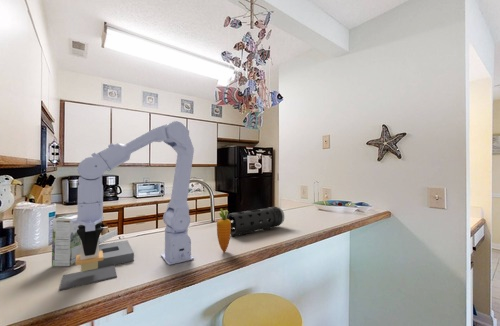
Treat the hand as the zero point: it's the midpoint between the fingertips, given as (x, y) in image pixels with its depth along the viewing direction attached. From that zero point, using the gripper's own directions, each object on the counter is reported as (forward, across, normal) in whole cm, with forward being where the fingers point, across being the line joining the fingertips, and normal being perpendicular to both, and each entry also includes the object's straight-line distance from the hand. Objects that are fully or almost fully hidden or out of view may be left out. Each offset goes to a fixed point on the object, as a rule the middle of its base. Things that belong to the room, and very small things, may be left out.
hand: (90, 252), depth 63 cm
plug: (+4, 0, 0) cm, 4 cm away
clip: (+4, -22, +4) cm, 23 cm away
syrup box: (+7, -16, -6) cm, 18 cm away
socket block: (+7, -14, +6) cm, 16 cm away
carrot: (+7, +4, +38) cm, 39 cm away
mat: (+7, 0, 0) cm, 7 cm away
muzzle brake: (+7, -10, +64) cm, 65 cm away
